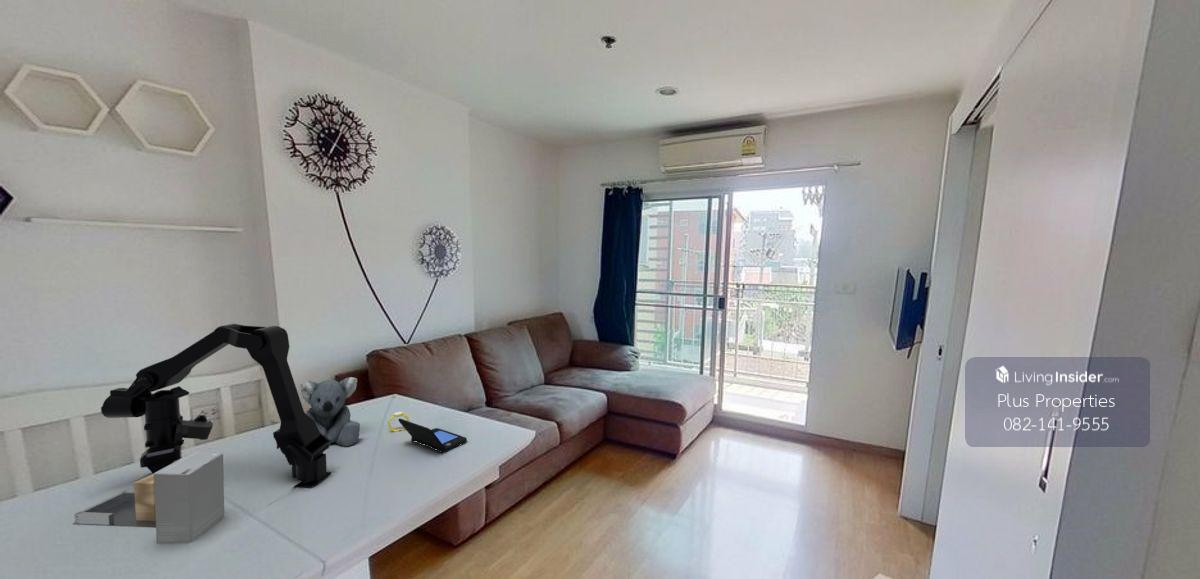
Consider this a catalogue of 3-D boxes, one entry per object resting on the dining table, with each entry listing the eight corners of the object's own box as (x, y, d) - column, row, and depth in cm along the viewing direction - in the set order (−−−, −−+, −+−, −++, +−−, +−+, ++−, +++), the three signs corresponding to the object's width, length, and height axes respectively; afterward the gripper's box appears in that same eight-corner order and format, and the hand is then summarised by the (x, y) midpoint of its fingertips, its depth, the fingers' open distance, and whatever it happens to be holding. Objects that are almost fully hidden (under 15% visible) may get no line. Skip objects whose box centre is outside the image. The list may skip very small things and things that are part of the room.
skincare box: (193, 524, 86) (189, 451, 84) (229, 523, 86) (226, 450, 85) (152, 553, 77) (147, 472, 76) (193, 551, 78) (189, 471, 77)
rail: (203, 508, 91) (202, 493, 91) (159, 534, 82) (158, 518, 82) (124, 505, 92) (123, 490, 91) (72, 531, 83) (71, 514, 83)
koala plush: (288, 458, 114) (285, 389, 113) (298, 434, 130) (296, 373, 128) (360, 445, 123) (358, 381, 121) (361, 424, 138) (359, 367, 137)
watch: (389, 434, 131) (387, 416, 131) (389, 431, 134) (387, 413, 133) (409, 430, 134) (407, 412, 133) (409, 427, 136) (408, 409, 135)
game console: (469, 442, 126) (468, 414, 125) (430, 460, 114) (429, 429, 114) (436, 431, 134) (436, 404, 134) (397, 446, 123) (396, 417, 122)
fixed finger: (180, 506, 89) (178, 471, 88) (154, 521, 84) (152, 483, 83) (160, 505, 89) (158, 470, 89) (133, 520, 84) (130, 482, 84)
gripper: (208, 418, 97) (211, 482, 98) (210, 398, 110) (213, 454, 111) (137, 431, 89) (142, 500, 90) (148, 408, 103) (152, 468, 104)
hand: (166, 478), depth 99 cm, fingers closed on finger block, 5 cm apart
